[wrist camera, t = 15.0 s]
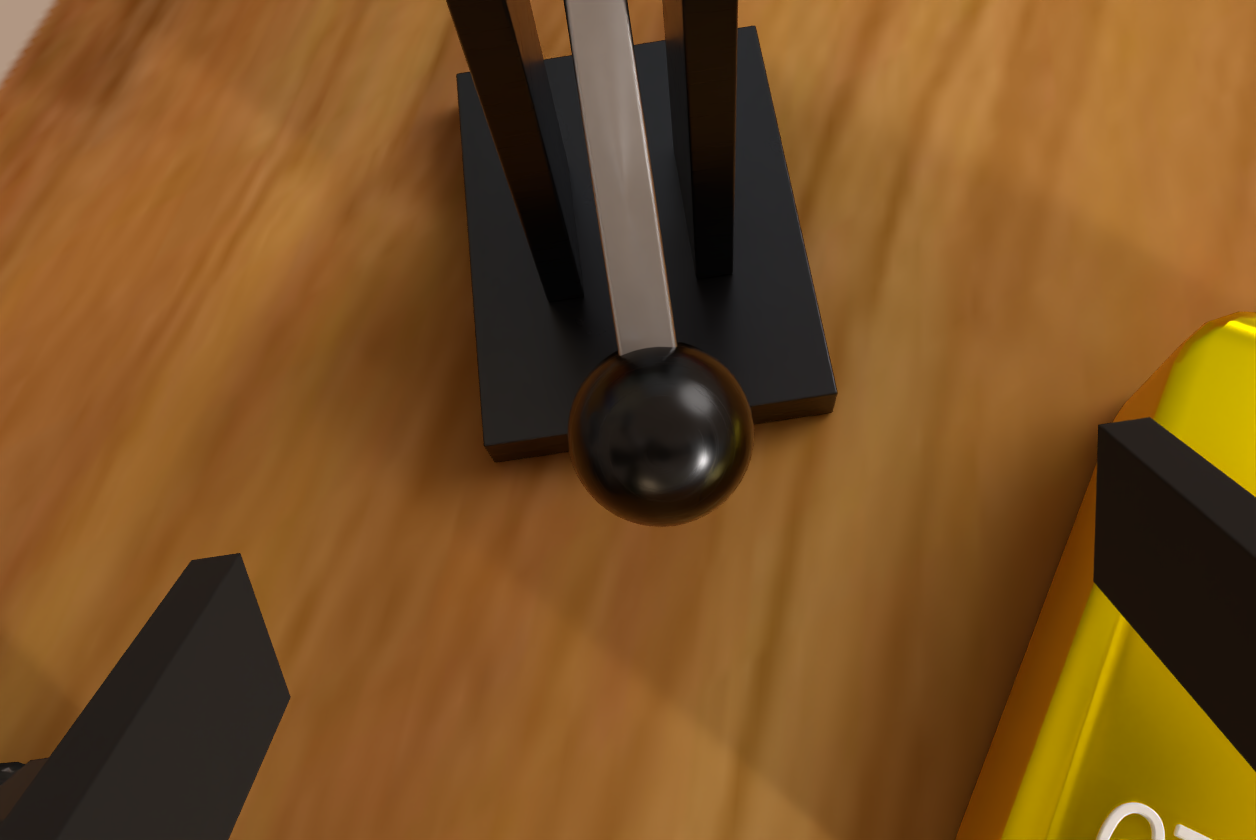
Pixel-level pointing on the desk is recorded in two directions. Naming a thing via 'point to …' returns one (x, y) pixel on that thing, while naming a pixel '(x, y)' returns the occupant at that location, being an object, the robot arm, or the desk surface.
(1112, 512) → the robot arm
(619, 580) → the desk surface
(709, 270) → the black lever stand
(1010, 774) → the element tile
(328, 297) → the desk surface
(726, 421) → the tap lever
